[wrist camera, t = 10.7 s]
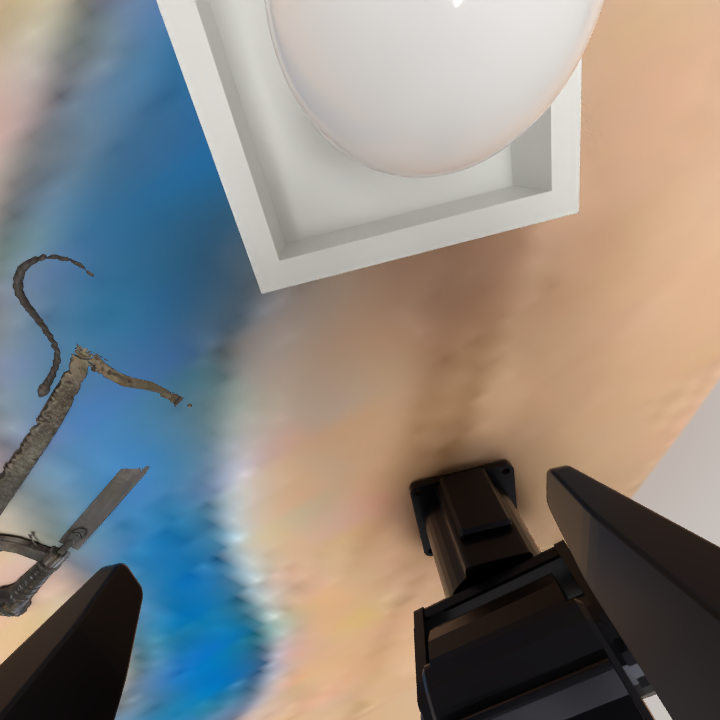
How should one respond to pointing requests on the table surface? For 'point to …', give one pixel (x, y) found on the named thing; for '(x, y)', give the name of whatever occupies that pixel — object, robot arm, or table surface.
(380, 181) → the tray
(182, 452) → the table surface
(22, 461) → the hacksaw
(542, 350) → the table surface
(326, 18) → the lightbulb
